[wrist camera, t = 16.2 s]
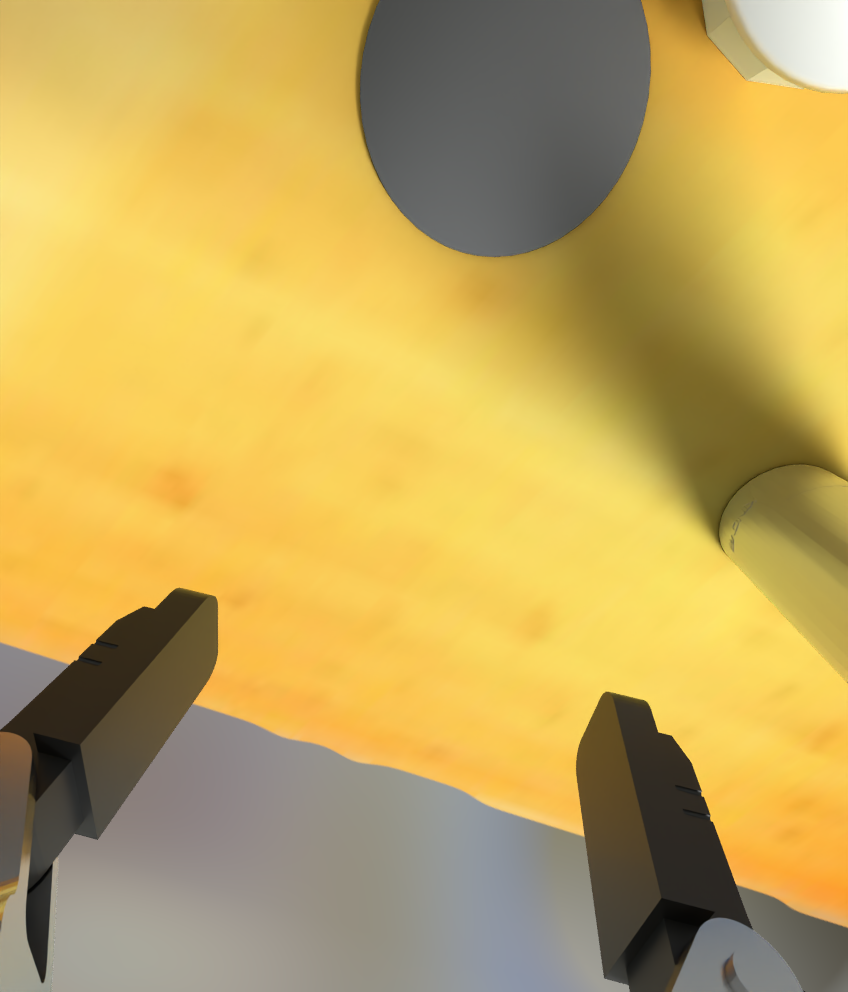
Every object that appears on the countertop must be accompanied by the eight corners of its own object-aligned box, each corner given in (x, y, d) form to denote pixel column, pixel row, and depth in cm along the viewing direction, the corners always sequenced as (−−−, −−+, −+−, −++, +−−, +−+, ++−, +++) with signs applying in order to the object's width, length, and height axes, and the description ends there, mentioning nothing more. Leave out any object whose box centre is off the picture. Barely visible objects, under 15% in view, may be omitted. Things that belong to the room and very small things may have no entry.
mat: (690, -71, 26) (693, -75, 25) (602, 273, 33) (604, 273, 32) (374, -120, 26) (373, -126, 25) (351, 237, 32) (350, 237, 32)
